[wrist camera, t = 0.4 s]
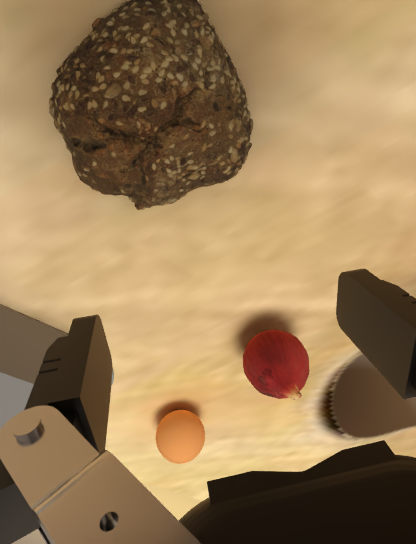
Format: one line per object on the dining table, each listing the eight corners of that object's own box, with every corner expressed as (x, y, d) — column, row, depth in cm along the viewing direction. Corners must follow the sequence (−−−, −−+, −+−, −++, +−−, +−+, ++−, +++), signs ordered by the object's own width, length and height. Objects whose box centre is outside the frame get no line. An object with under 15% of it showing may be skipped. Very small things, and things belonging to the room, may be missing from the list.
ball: (148, 408, 37) (150, 451, 33) (193, 393, 38) (201, 434, 33) (163, 437, 40) (166, 480, 36) (205, 422, 40) (214, 464, 36)
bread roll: (199, -32, 21) (216, -60, 17) (263, 160, 28) (287, 175, 23) (11, 64, 22) (-19, 61, 18) (115, 231, 28) (111, 259, 24)
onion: (250, 367, 37) (277, 433, 30) (224, 333, 35) (246, 398, 28) (299, 339, 37) (337, 400, 30) (276, 302, 34) (312, 360, 27)
